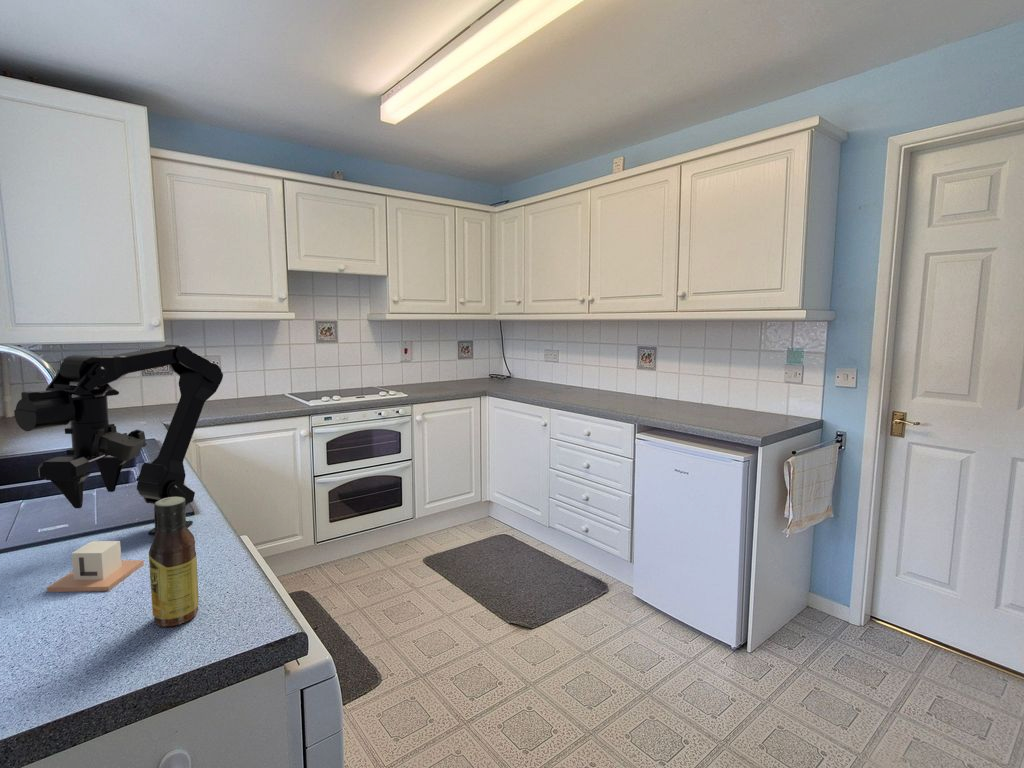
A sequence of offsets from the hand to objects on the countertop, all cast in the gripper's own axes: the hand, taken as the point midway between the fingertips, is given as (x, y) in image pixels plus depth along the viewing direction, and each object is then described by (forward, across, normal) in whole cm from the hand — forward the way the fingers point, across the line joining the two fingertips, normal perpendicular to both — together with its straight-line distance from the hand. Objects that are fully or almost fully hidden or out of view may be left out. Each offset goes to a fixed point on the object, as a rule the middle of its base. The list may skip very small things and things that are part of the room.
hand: (95, 499), depth 101 cm
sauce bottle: (+12, -22, -26) cm, 36 cm away
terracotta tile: (+12, -8, -5) cm, 15 cm away
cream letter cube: (+11, -8, -5) cm, 15 cm away
